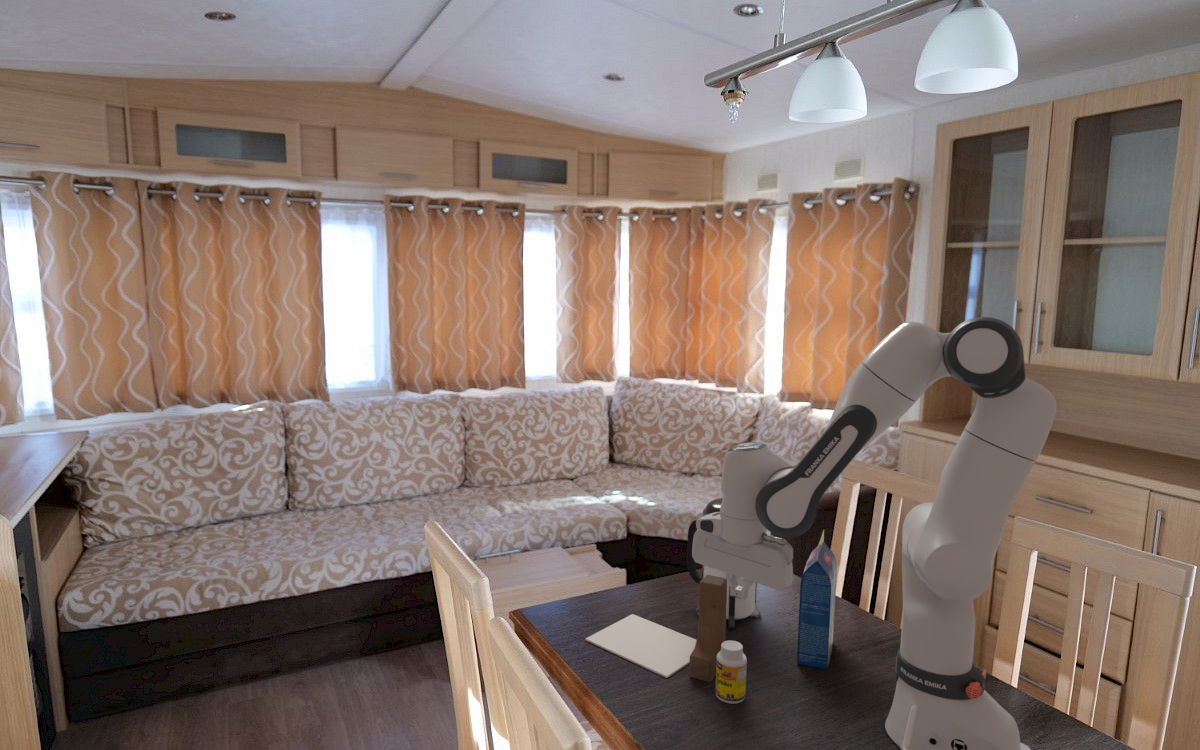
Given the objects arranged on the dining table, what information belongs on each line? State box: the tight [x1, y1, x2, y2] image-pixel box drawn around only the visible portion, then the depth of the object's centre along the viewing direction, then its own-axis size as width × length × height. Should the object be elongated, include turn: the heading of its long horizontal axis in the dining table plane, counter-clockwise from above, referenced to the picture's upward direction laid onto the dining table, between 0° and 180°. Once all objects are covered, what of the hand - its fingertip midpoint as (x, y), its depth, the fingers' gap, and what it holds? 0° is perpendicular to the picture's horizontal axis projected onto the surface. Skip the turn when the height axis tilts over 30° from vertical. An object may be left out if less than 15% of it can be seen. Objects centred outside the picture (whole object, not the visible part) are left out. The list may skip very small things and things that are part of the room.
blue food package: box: [796, 529, 838, 670], centre depth 148 cm, size 6×12×25 cm, turn 157°
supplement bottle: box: [715, 639, 748, 705], centre depth 133 cm, size 6×6×10 cm
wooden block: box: [688, 575, 727, 683], centre depth 142 cm, size 9×4×18 cm, turn 152°
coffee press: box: [686, 497, 762, 631], centre depth 166 cm, size 17×16×30 cm
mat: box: [584, 613, 697, 679], centre depth 153 cm, size 22×16×1 cm
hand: (738, 597), depth 136 cm, fingers closed
